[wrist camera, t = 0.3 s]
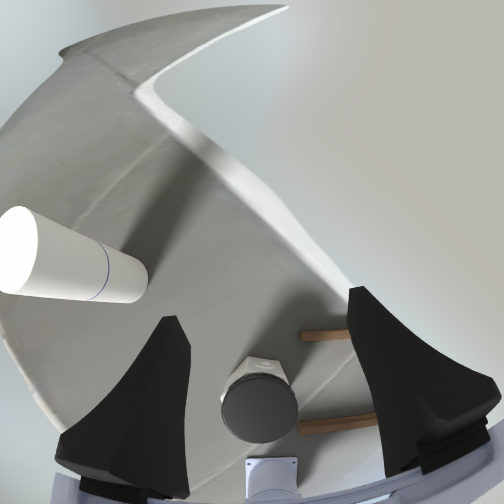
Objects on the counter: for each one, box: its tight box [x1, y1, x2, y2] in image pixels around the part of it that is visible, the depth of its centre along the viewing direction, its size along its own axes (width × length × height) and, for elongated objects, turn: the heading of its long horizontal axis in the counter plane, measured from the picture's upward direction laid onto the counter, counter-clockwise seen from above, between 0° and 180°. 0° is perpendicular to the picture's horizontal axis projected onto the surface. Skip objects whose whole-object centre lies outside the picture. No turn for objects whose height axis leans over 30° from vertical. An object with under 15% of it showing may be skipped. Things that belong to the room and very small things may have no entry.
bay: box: [298, 329, 378, 435], centre depth 37 cm, size 15×15×2 cm
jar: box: [221, 356, 298, 444], centre depth 33 cm, size 9×8×12 cm
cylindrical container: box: [0, 206, 148, 303], centre depth 29 cm, size 7×7×25 cm
